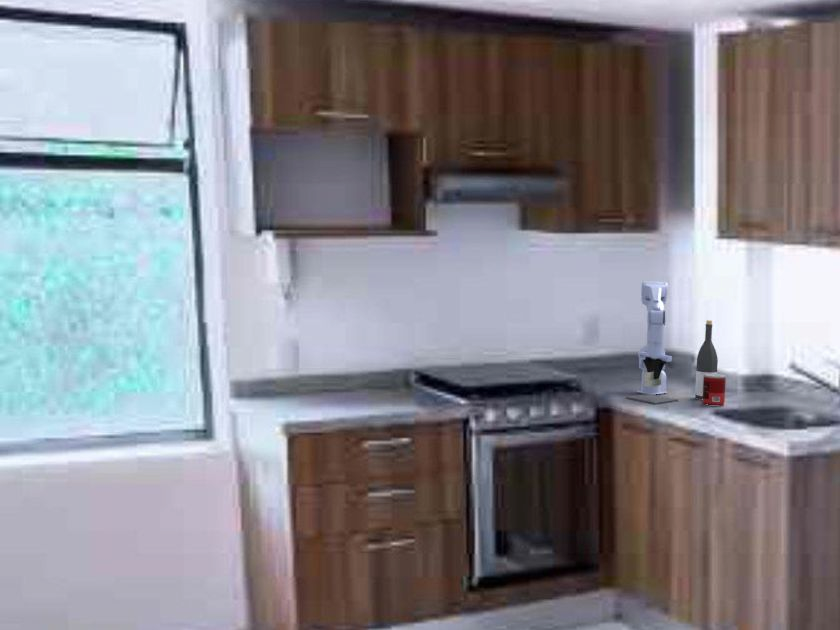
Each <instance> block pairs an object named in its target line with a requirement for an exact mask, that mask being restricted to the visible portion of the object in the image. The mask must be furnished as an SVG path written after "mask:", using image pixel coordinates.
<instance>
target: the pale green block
mask: <svg viewBox="0 0 840 630" xmlns="http://www.w3.org/2000/svg"><path fill="white" fill-rule="evenodd" d="M661 375H662V372H661V373H660V377H659V379H654V372H647V373H645V386H647V387H651V386H659V385H661Z"/></svg>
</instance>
